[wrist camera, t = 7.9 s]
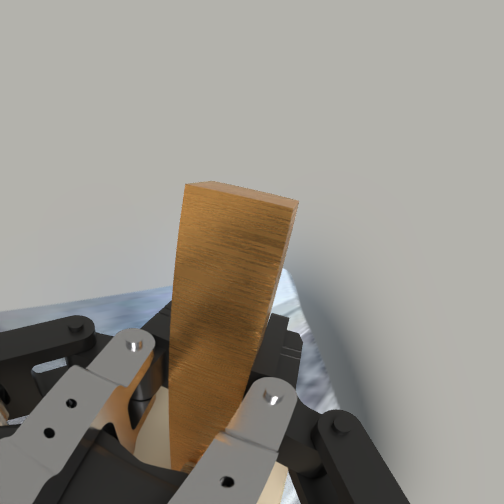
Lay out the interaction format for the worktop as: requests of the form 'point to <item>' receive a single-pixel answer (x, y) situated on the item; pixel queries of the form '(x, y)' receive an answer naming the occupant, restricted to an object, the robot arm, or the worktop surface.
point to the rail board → (158, 448)
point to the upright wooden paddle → (220, 306)
